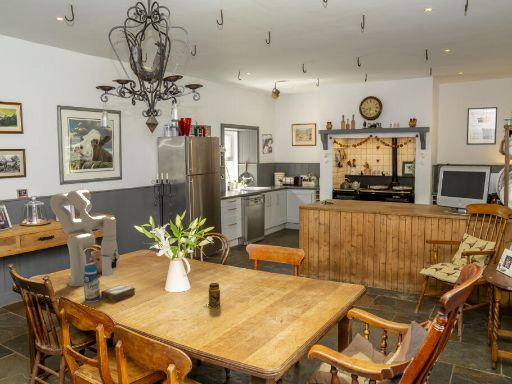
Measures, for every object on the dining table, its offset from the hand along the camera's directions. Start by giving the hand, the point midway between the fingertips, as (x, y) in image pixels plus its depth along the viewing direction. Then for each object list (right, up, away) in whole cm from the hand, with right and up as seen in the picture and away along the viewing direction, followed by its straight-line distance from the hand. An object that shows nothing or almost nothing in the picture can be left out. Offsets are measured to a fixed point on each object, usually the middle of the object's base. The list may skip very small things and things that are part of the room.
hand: (109, 266), depth 258 cm
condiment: (+65, -17, -26) cm, 72 cm away
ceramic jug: (-20, -11, +42) cm, 48 cm away
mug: (0, -5, 0) cm, 5 cm away
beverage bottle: (-4, -16, -16) cm, 24 cm away
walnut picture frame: (+8, -16, -10) cm, 20 cm away
